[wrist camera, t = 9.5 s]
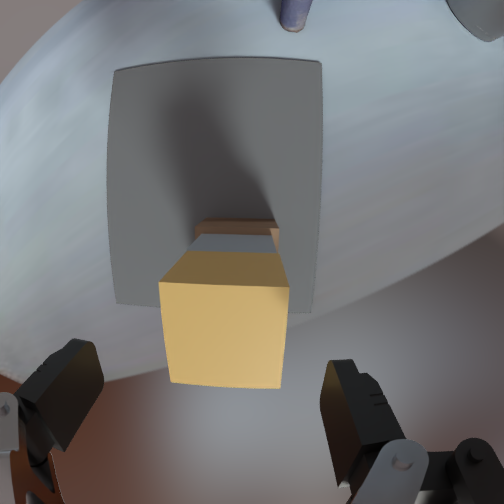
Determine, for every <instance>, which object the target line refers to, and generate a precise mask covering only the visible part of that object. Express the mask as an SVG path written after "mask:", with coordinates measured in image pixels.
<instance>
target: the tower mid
mask: <svg viewBox="0 0 504 504" xmlns="http://www.w3.org/2000/svg"><path fill="white" fill-rule="evenodd" d="M187 251H217V252H251V253H277V251H276V248H275V244H274V241H273V237H272V235H241V234H201V235H200V236H199V237H198V238H197V239H196V240H195V241H194V242H193V243H192V244H191V245H190V246H189V247H188V248H187V249H186V250H185V253H186V252H187Z"/></svg>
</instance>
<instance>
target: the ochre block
mask: <svg viewBox="0 0 504 504" xmlns="http://www.w3.org/2000/svg"><path fill="white" fill-rule="evenodd" d="M289 289H290V287H289V283H288V280H287V277H286V273H285V270H284V267H283V264H282V260H281V257H280V254H279V253H251V252H217V251H187V252H186V253H185V254H184V255H183V256H182V257H181V258H180V259H179V260H178V261H177V262H176V263H175V264H174V266H173V267H172V268H171V269H170V270H169V271H168V272H167V273H166V274H165V275H164V276H163V278H162V279H161V280H160V281H159V294H160V304H161V314H162V323H163V331H164V339H165V346H166V353H167V360H168V367H169V373H170V379H171V382H175V383H183V384H194V385H204V386H217V387H233V388H269V389H270V388H271V389H276V388H277V389H280V385H281V375H282V366H283V356H284V347H285V336H286V325H287V314H288V302H289Z"/></svg>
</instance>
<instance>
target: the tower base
mask: <svg viewBox="0 0 504 504" xmlns="http://www.w3.org/2000/svg"><path fill="white" fill-rule="evenodd" d="M201 234H241V235H272V237H273V241H274V244H275V248H276V251H277V253H278V247H279V227H278V225H277V223H276V221H275V219H256V218H205V219H204V220H203V221H201V222H200V223H199V224H198V225H196V226H195V240H196V239H197V238H198V237H199V236H200V235H201Z"/></svg>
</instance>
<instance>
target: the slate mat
mask: <svg viewBox="0 0 504 504" xmlns="http://www.w3.org/2000/svg"><path fill="white" fill-rule="evenodd" d="M322 142H323V97H322V63H318V62H309V61H299V60H287V59H270V58H215V59H198V60H186V61H176V62H168V63H160V64H153V65H147V66H141V67H135V68H130V69H125V70H120V71H115V72H114V77H113V85H112V93H111V102H110V113H109V125H108V143H107V214H108V232H109V245H110V256H111V265H112V274H113V282H114V290H115V297H116V303H117V304H127V305H138V306H149V307H161V304H160V294H159V281H160V280H161V279H162V278H163V276H164V275H165V274H166V273H167V272H168V271H169V270H170V269H171V268H172V267H173V266H174V264H175V263H176V262H177V261H178V260H179V259H180V258H181V257H182V256H183V255H184V254H185V250H186V249H187V248H188V247H189V246H190V245H191V244H192V243H193V242H194V241H195V226H196V225H198V224H199V223H200V222H201V221H203V220H204V219H205V218H256V219H275V221H276V223H277V225H278V227H279V247H278V253H279V254H280V257H281V260H282V264H283V267H284V270H285V273H286V277H287V280H288V283H289V287H290V289H289V302H288V313H311V309H312V301H313V291H314V281H315V271H316V260H317V248H318V234H319V219H320V202H321V179H322Z"/></svg>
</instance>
